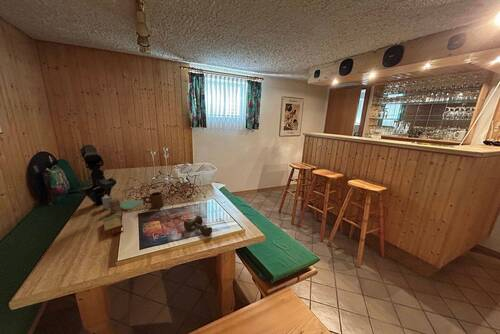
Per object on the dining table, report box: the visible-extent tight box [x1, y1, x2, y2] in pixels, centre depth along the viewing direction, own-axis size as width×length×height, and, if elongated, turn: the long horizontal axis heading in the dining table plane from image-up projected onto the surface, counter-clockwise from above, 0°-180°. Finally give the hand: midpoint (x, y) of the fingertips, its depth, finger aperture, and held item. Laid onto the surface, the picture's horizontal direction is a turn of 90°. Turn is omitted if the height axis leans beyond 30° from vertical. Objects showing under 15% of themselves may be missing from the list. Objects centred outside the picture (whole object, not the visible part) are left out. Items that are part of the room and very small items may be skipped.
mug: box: [142, 191, 164, 209], centre depth 132 cm, size 12×8×9 cm, turn 123°
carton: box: [102, 213, 124, 237], centre depth 110 cm, size 8×16×4 cm, turn 40°
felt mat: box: [120, 198, 145, 210], centre depth 138 cm, size 14×12×1 cm
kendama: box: [183, 215, 213, 237], centre depth 107 cm, size 6×10×20 cm
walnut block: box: [109, 198, 122, 214], centre depth 127 cm, size 4×4×8 cm
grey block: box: [102, 195, 113, 210], centre depth 132 cm, size 4×4×8 cm
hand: (101, 199), depth 118 cm, fingers open, 9 cm apart
